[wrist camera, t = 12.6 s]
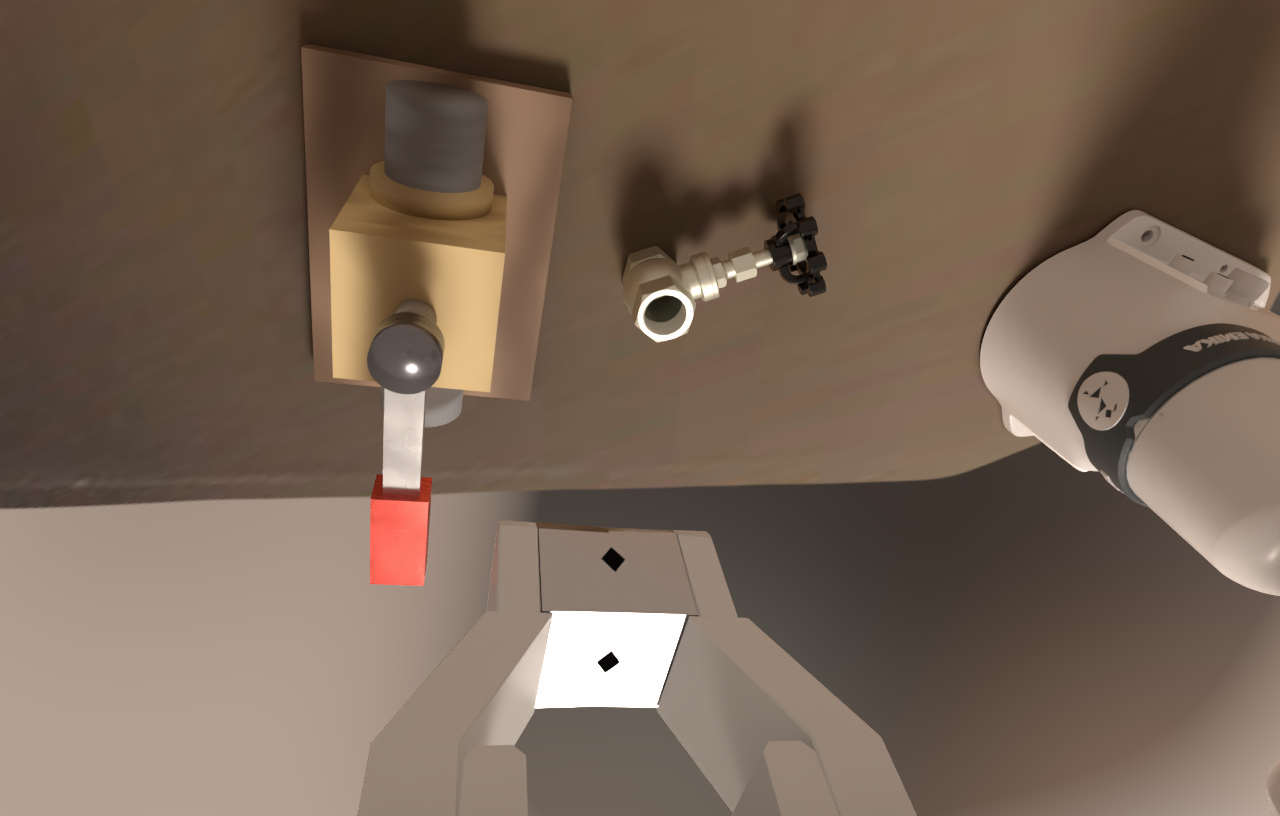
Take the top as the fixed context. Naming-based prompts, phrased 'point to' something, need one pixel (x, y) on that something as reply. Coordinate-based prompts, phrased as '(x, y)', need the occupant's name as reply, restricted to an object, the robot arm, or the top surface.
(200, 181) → the top surface
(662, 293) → the valve
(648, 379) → the top surface
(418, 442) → the valve lever
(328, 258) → the valve manifold
